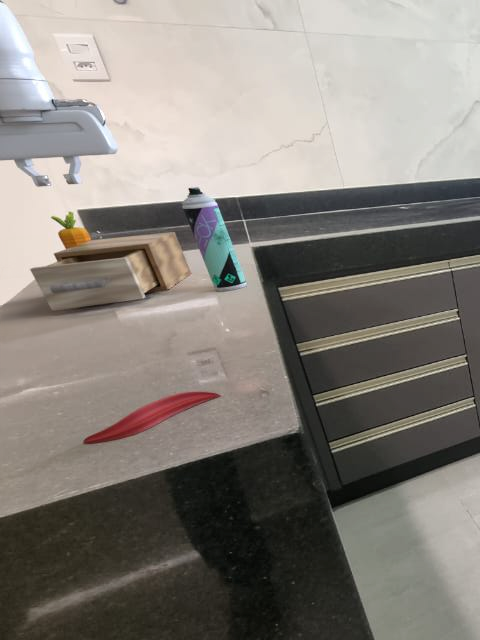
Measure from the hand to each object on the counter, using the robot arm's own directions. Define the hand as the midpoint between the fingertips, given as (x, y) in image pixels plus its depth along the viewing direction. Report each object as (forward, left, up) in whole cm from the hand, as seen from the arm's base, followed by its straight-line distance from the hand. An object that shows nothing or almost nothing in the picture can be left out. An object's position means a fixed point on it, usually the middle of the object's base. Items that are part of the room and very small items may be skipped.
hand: (60, 185), depth 96 cm
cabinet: (0, +12, -22) cm, 25 cm away
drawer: (0, -1, -21) cm, 21 cm away
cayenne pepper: (+27, -67, -22) cm, 76 cm away
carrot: (-16, +34, -22) cm, 44 cm away
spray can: (+20, -2, -22) cm, 30 cm away
